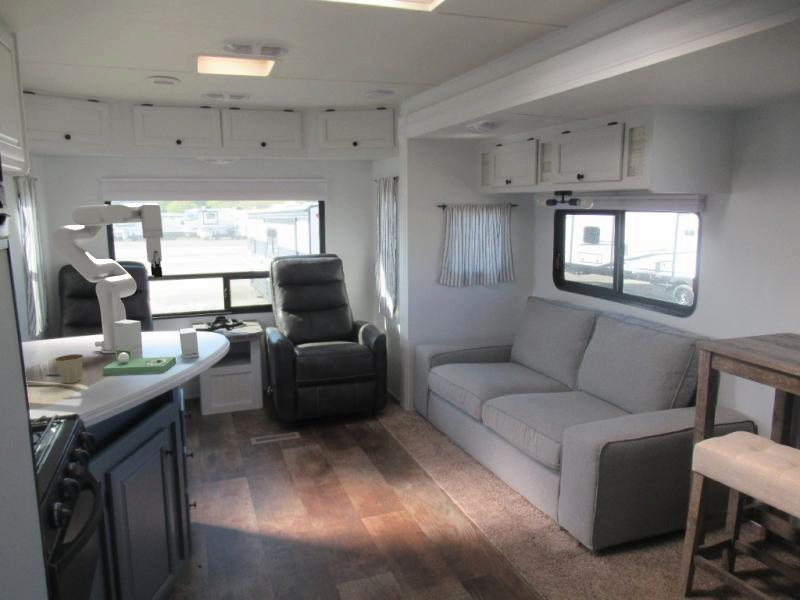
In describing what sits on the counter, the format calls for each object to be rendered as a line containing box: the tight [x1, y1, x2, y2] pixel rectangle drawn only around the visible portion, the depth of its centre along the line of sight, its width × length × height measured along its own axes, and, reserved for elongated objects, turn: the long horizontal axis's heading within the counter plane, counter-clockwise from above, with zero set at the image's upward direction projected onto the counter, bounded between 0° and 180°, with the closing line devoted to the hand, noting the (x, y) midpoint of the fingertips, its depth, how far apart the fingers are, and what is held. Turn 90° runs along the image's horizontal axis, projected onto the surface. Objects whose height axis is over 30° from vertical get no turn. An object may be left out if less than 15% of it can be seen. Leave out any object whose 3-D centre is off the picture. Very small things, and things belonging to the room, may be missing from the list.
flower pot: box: [53, 353, 85, 384], centre depth 217 cm, size 9×9×9 cm
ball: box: [118, 353, 129, 363], centre depth 232 cm, size 4×4×4 cm
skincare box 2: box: [179, 327, 200, 359], centre depth 251 cm, size 10×6×10 cm, turn 22°
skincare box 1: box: [114, 319, 144, 361], centre depth 247 cm, size 8×7×16 cm
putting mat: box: [102, 356, 177, 376], centre depth 232 cm, size 22×14×2 cm, turn 93°
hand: (157, 276), depth 252 cm, fingers open, 9 cm apart
